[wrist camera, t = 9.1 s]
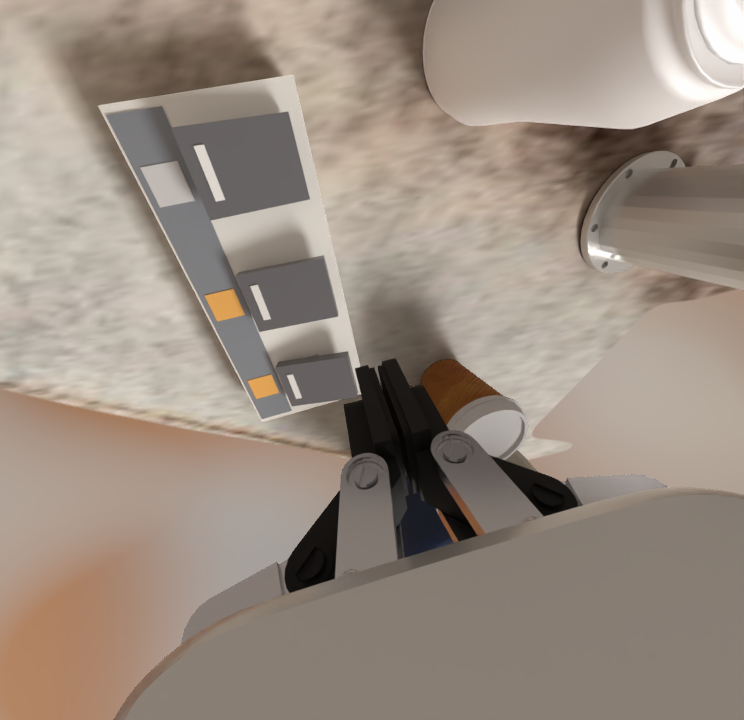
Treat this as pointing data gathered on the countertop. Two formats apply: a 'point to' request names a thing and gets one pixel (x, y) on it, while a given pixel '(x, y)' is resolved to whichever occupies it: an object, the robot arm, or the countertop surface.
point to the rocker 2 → (318, 378)
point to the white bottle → (581, 59)
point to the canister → (421, 526)
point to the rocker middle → (289, 293)
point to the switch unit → (235, 230)
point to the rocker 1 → (243, 163)
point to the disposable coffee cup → (476, 408)
